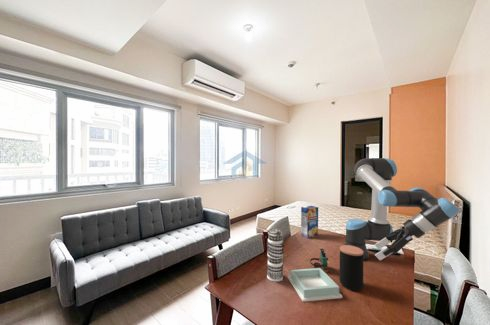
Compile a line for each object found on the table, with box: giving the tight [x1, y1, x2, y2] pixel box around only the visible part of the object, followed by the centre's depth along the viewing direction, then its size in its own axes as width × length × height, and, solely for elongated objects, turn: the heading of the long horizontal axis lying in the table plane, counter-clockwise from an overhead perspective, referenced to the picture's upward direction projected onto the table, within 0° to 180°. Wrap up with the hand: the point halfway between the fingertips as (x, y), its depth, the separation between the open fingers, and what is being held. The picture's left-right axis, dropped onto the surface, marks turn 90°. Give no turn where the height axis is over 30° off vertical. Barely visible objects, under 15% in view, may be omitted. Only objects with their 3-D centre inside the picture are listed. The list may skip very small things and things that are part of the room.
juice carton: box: [300, 205, 319, 239], centre depth 172 cm, size 12×8×24 cm, turn 117°
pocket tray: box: [287, 267, 343, 303], centre depth 101 cm, size 19×19×4 cm
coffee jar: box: [338, 244, 365, 292], centre depth 103 cm, size 11×11×18 cm
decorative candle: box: [266, 228, 285, 282], centre depth 110 cm, size 9×9×25 cm
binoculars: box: [309, 248, 329, 273], centre depth 119 cm, size 9×11×10 cm
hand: (376, 252), depth 98 cm, fingers open, 13 cm apart
